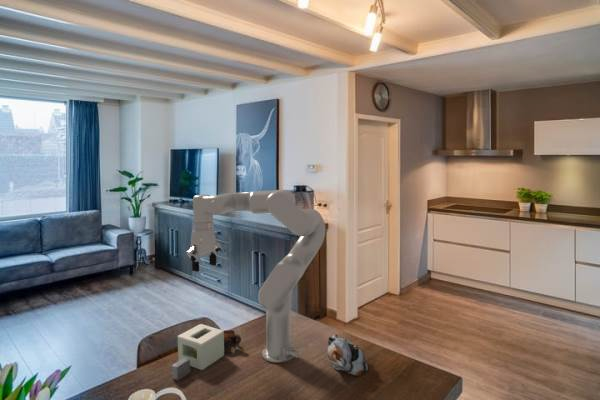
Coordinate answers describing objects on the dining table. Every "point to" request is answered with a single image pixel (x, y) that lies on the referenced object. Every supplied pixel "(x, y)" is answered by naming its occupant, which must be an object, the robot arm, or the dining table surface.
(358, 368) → the lucky cat figurine
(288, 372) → the dining table surface
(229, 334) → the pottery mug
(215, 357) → the cream slotted box
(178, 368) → the block
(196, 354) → the block
